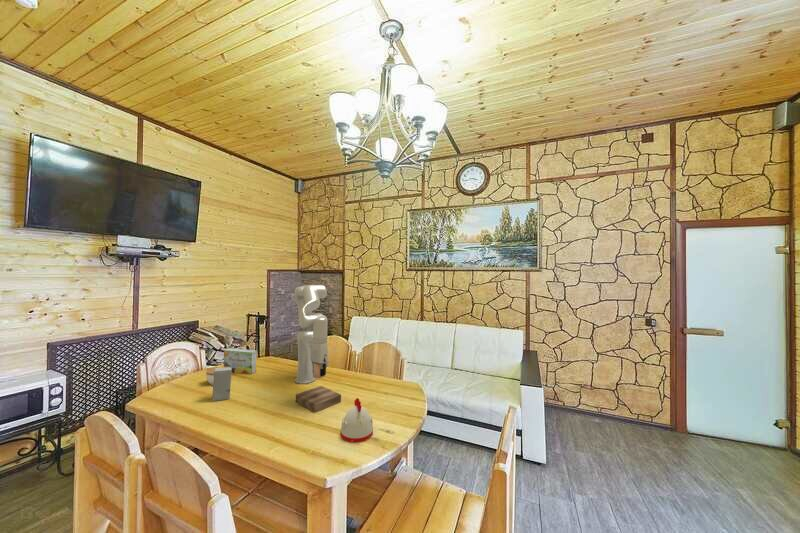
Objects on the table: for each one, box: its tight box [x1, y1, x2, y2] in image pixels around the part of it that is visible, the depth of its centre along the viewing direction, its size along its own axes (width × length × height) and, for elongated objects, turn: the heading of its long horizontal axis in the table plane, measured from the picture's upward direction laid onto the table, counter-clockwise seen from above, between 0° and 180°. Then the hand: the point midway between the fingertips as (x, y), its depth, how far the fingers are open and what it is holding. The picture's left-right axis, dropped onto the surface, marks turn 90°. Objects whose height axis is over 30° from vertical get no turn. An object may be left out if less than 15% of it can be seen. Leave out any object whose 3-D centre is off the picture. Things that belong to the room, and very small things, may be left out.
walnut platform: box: [295, 385, 342, 413], centre depth 160 cm, size 18×16×4 cm
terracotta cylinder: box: [313, 362, 325, 379], centre depth 160 cm, size 6×6×7 cm
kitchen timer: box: [340, 397, 374, 443], centre depth 131 cm, size 14×14×15 cm
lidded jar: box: [205, 367, 219, 386], centre depth 182 cm, size 11×11×9 cm
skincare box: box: [211, 366, 233, 402], centre depth 162 cm, size 8×7×16 cm
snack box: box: [223, 347, 257, 375], centre depth 203 cm, size 21×6×15 cm, turn 81°
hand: (319, 373), depth 160 cm, fingers closed on terracotta cylinder, 6 cm apart
